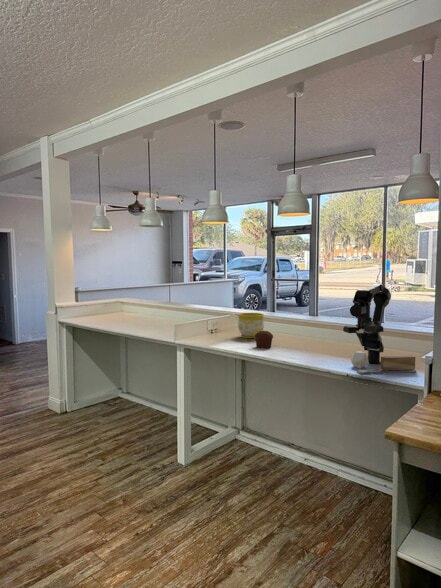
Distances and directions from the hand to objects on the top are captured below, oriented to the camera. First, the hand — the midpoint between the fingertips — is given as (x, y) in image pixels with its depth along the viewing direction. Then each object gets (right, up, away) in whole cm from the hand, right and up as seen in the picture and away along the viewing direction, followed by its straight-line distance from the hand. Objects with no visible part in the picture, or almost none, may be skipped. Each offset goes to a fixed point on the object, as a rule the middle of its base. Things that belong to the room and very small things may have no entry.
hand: (363, 346), depth 202 cm
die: (-1, -11, +2) cm, 11 cm away
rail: (+9, -11, -7) cm, 16 cm away
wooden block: (+14, -10, -6) cm, 19 cm away
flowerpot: (-49, -5, +87) cm, 100 cm away
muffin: (-43, -7, +52) cm, 68 cm away
